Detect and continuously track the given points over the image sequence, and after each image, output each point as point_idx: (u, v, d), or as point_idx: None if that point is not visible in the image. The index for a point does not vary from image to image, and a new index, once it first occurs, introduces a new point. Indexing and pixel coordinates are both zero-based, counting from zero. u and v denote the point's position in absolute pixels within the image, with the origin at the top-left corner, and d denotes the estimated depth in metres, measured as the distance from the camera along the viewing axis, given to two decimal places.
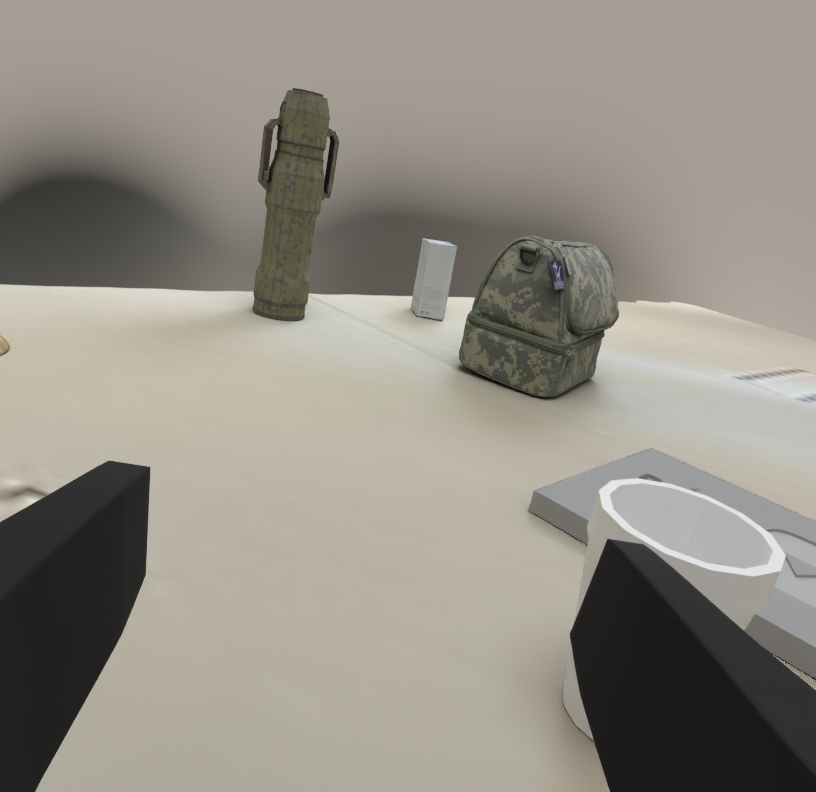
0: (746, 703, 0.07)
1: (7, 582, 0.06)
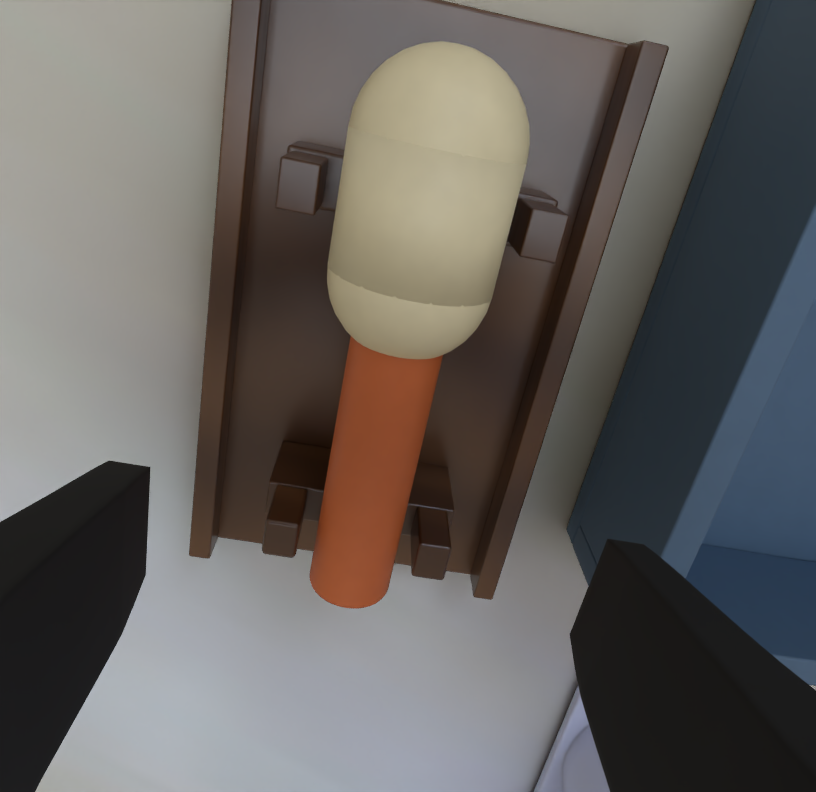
0: (746, 703, 0.07)
1: (8, 583, 0.06)
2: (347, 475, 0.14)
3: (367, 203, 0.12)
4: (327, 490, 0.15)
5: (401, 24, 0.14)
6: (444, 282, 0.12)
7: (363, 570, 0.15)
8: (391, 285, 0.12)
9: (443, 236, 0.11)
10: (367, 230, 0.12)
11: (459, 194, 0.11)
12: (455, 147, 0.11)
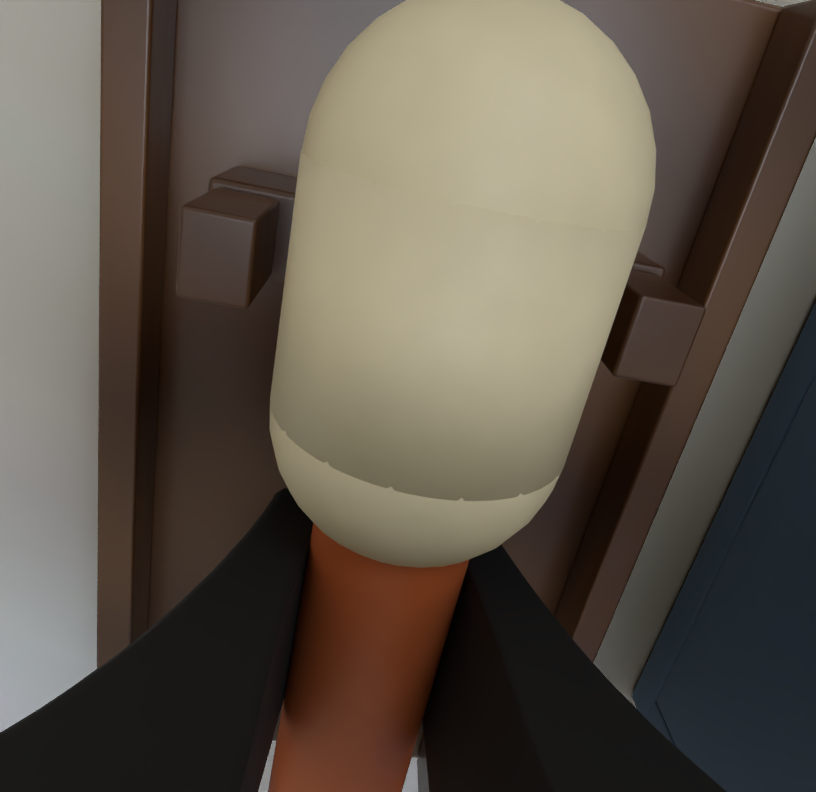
0: (506, 671, 0.07)
1: (272, 619, 0.07)
2: (312, 734, 0.09)
3: (335, 309, 0.06)
4: (282, 738, 0.09)
5: None
6: (487, 459, 0.06)
7: None
8: (384, 467, 0.06)
9: (489, 379, 0.06)
10: (335, 360, 0.06)
11: (525, 295, 0.05)
12: (521, 203, 0.05)
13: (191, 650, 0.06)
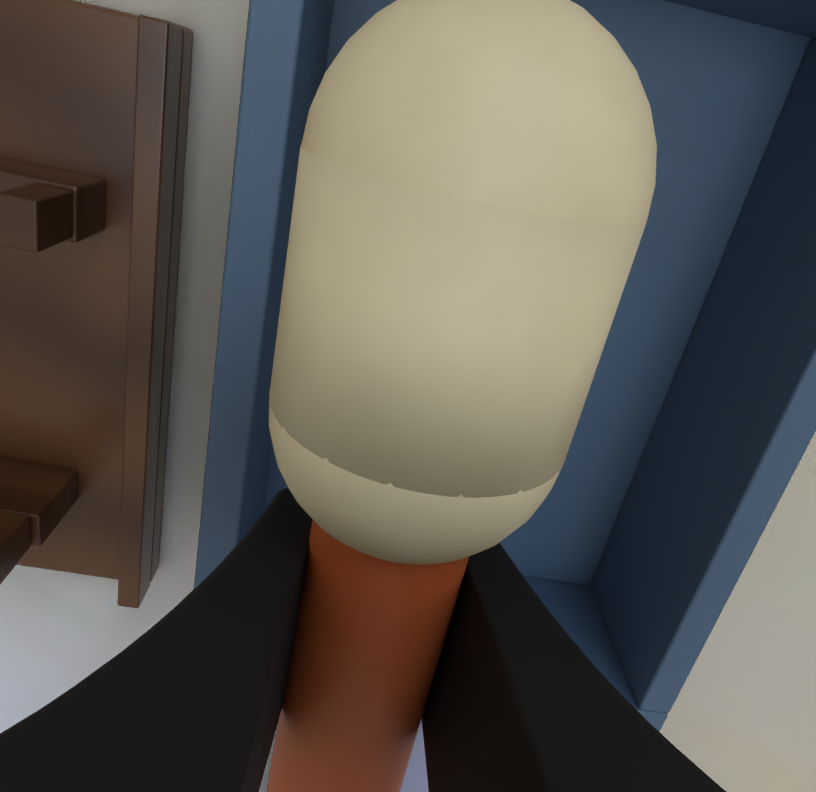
0: (505, 671, 0.07)
1: (273, 620, 0.07)
2: (311, 730, 0.09)
3: (335, 304, 0.06)
4: (281, 735, 0.09)
5: None
6: (487, 455, 0.06)
7: None
8: (383, 463, 0.06)
9: (490, 375, 0.06)
10: (335, 357, 0.06)
11: (525, 290, 0.05)
12: (522, 198, 0.05)
13: (192, 650, 0.06)
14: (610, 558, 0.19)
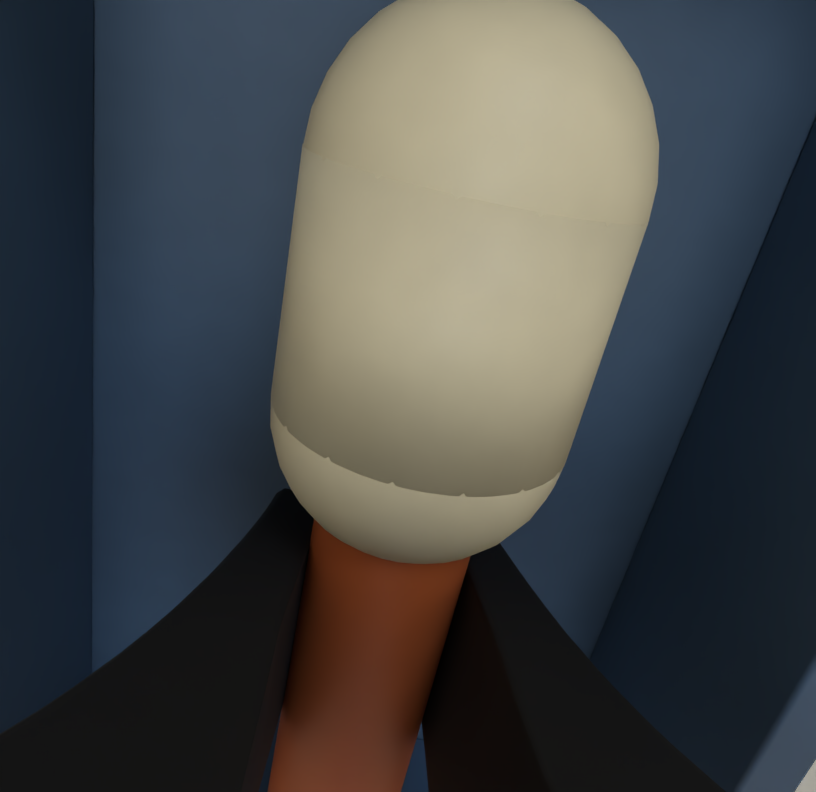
0: (505, 671, 0.07)
1: (273, 619, 0.07)
2: (311, 730, 0.09)
3: (337, 303, 0.06)
4: (282, 735, 0.09)
5: None
6: (490, 455, 0.06)
7: None
8: (385, 462, 0.06)
9: (492, 374, 0.06)
10: (337, 356, 0.06)
11: (526, 289, 0.05)
12: (524, 197, 0.05)
13: (192, 650, 0.06)
14: None
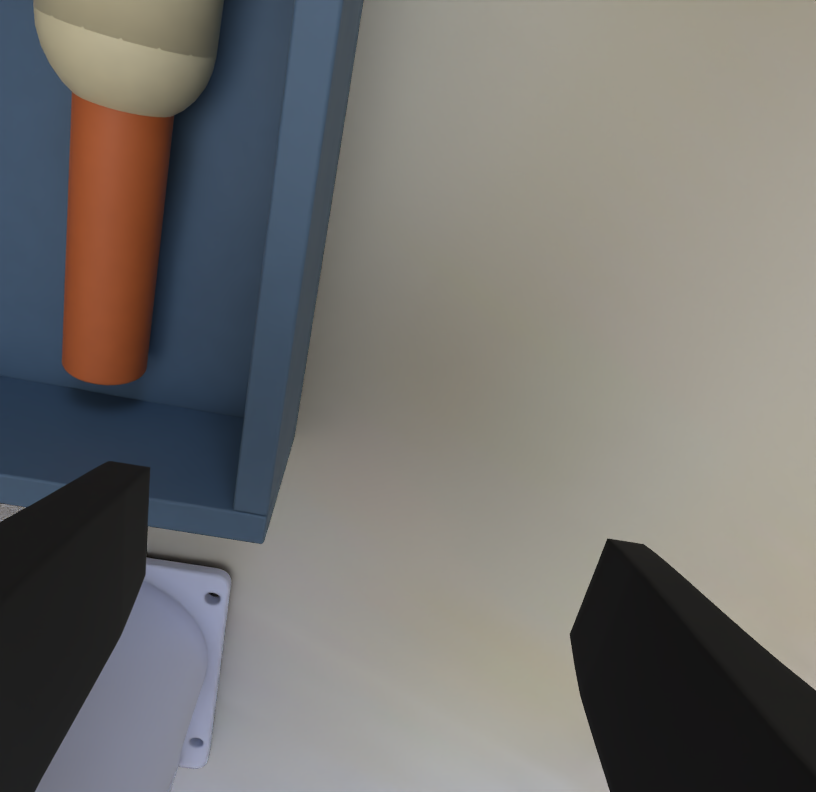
0: (746, 703, 0.07)
1: (7, 584, 0.06)
2: (109, 250, 0.15)
3: None
4: (81, 274, 0.15)
5: None
6: (197, 33, 0.13)
7: (136, 342, 0.16)
8: (154, 36, 0.12)
9: None
10: None
11: None
12: None
13: None
14: None
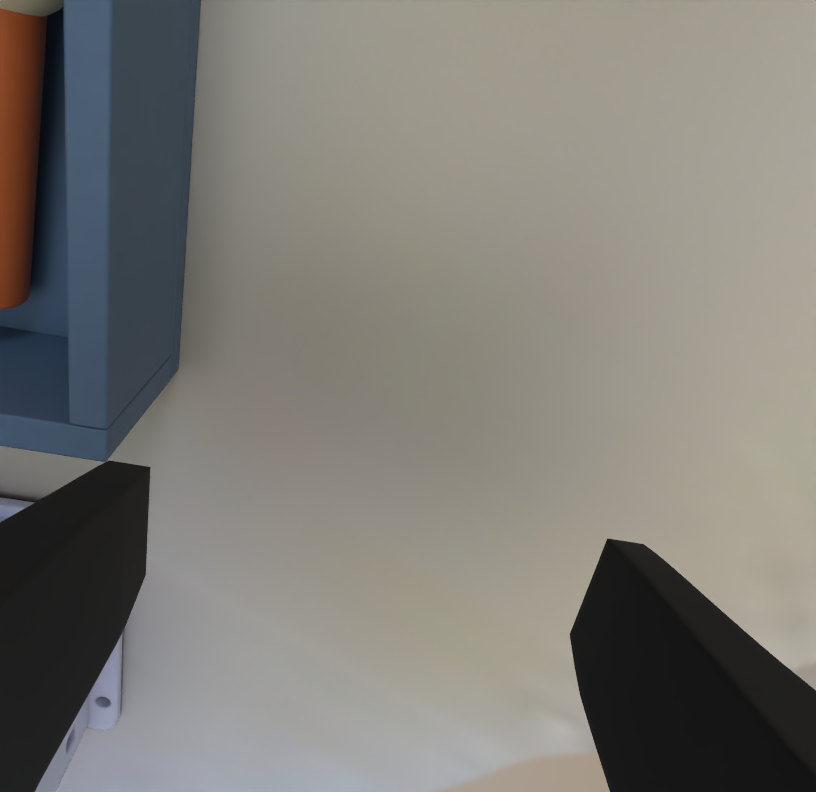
0: (746, 703, 0.07)
1: (7, 584, 0.06)
2: (8, 164, 0.14)
3: None
4: None
5: None
6: None
7: (29, 257, 0.16)
8: None
9: None
10: None
11: None
12: None
13: None
14: None
